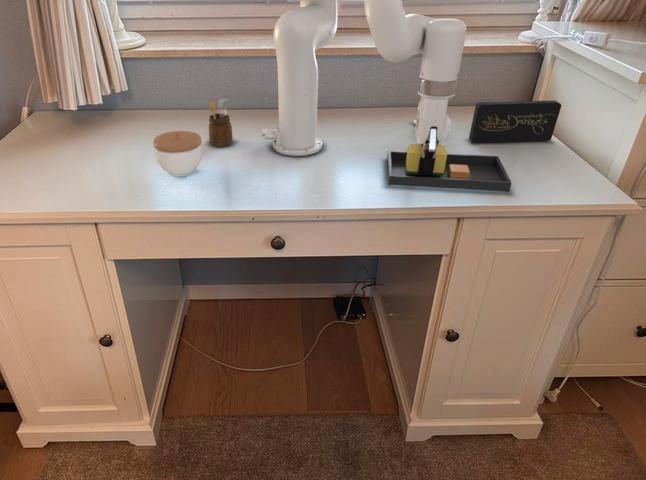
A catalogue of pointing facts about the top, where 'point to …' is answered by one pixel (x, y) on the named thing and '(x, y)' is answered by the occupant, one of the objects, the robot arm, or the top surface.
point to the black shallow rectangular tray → (482, 173)
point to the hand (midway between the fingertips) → (424, 168)
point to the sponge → (415, 154)
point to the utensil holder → (219, 127)
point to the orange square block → (458, 171)
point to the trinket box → (178, 152)
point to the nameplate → (514, 121)
